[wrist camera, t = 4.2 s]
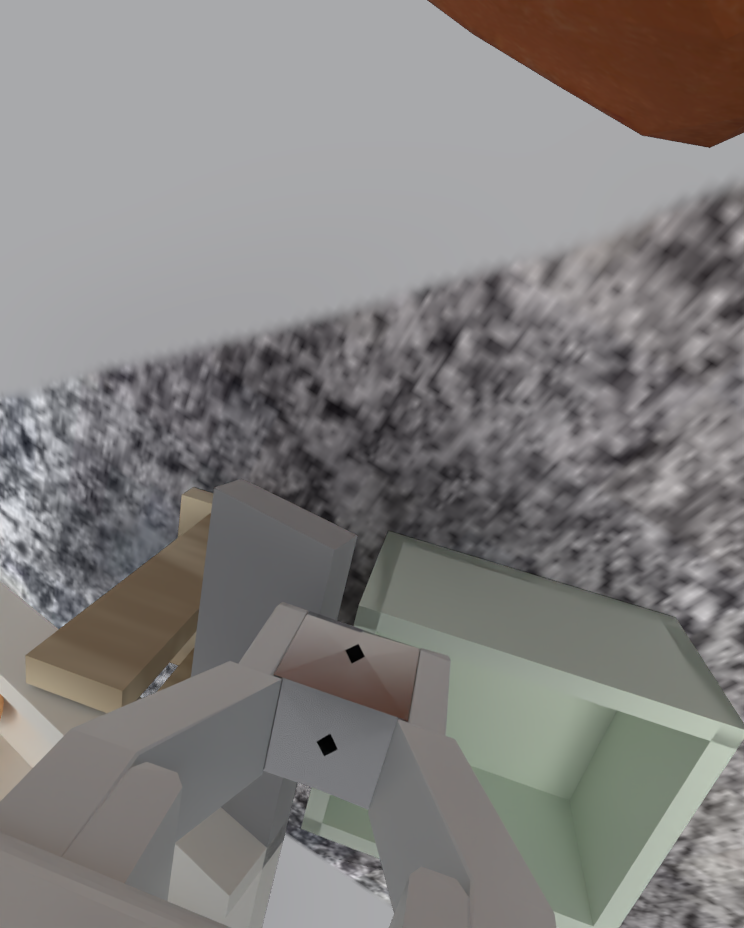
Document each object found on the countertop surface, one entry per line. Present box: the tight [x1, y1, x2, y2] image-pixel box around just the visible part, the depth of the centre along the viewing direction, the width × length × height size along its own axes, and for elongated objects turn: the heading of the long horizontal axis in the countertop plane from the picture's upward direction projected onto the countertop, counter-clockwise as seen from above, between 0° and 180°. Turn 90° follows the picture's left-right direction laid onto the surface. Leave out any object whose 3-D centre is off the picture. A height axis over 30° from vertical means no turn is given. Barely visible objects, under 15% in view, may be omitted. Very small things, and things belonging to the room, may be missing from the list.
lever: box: [0, 479, 358, 928], centre depth 14 cm, size 15×15×2 cm
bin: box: [301, 531, 744, 928], centre depth 21 cm, size 12×13×6 cm
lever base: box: [25, 487, 213, 713], centre depth 20 cm, size 10×6×11 cm, turn 167°
